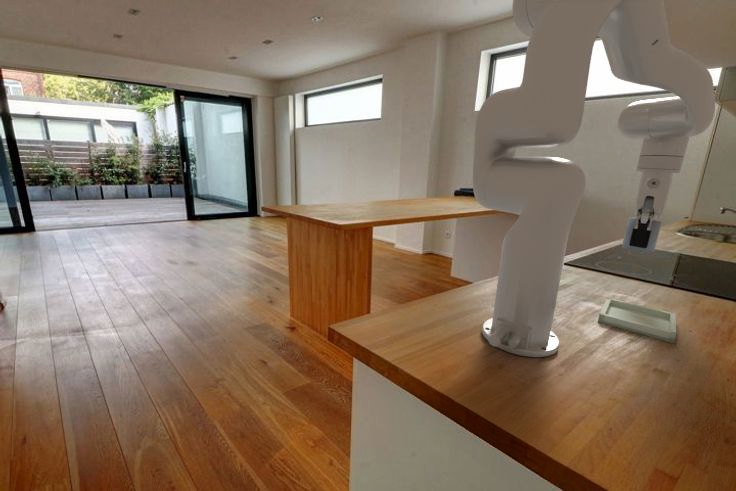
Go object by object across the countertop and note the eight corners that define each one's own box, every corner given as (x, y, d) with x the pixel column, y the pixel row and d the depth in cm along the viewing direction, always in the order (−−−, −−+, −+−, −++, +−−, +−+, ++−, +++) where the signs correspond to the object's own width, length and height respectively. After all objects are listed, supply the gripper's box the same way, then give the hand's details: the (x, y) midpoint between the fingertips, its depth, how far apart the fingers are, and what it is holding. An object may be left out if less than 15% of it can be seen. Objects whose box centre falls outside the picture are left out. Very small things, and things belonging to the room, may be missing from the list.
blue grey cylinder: (653, 253, 74) (662, 222, 73) (620, 248, 78) (627, 218, 77) (654, 249, 79) (662, 220, 77) (622, 244, 83) (629, 216, 81)
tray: (673, 343, 61) (676, 334, 60) (597, 322, 68) (599, 313, 68) (673, 321, 69) (675, 313, 69) (605, 304, 77) (607, 297, 76)
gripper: (683, 164, 65) (659, 254, 70) (680, 167, 78) (659, 243, 82) (634, 162, 70) (614, 246, 74) (639, 165, 83) (622, 237, 87)
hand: (638, 244), depth 78 cm, fingers closed on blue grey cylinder, 6 cm apart
